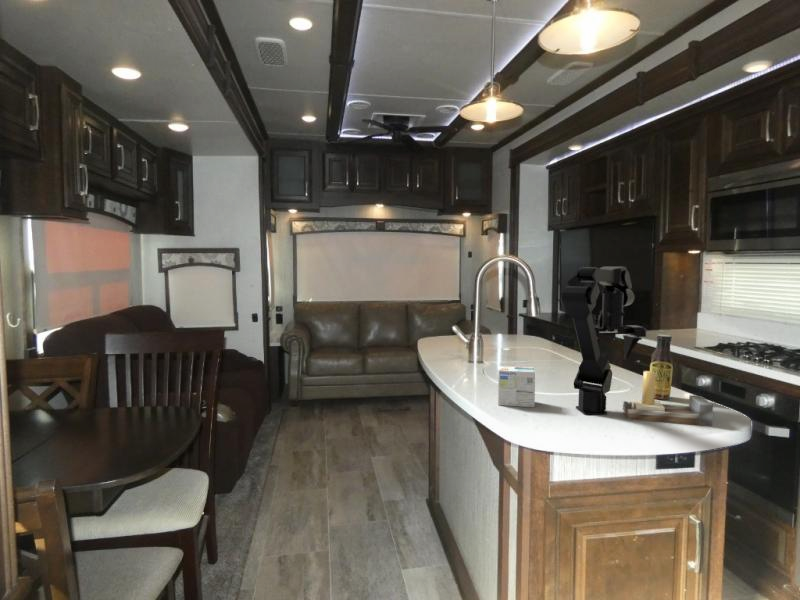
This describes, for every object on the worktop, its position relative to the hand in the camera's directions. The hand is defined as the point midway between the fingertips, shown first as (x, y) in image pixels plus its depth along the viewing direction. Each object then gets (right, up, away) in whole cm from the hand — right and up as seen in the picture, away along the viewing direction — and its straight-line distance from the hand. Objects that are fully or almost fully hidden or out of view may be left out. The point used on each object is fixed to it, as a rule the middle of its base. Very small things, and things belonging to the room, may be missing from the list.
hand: (610, 359), depth 148 cm
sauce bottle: (+18, -13, +5) cm, 23 cm away
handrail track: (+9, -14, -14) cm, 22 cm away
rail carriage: (+5, -12, -13) cm, 18 cm away
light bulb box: (-29, -13, -1) cm, 32 cm away
